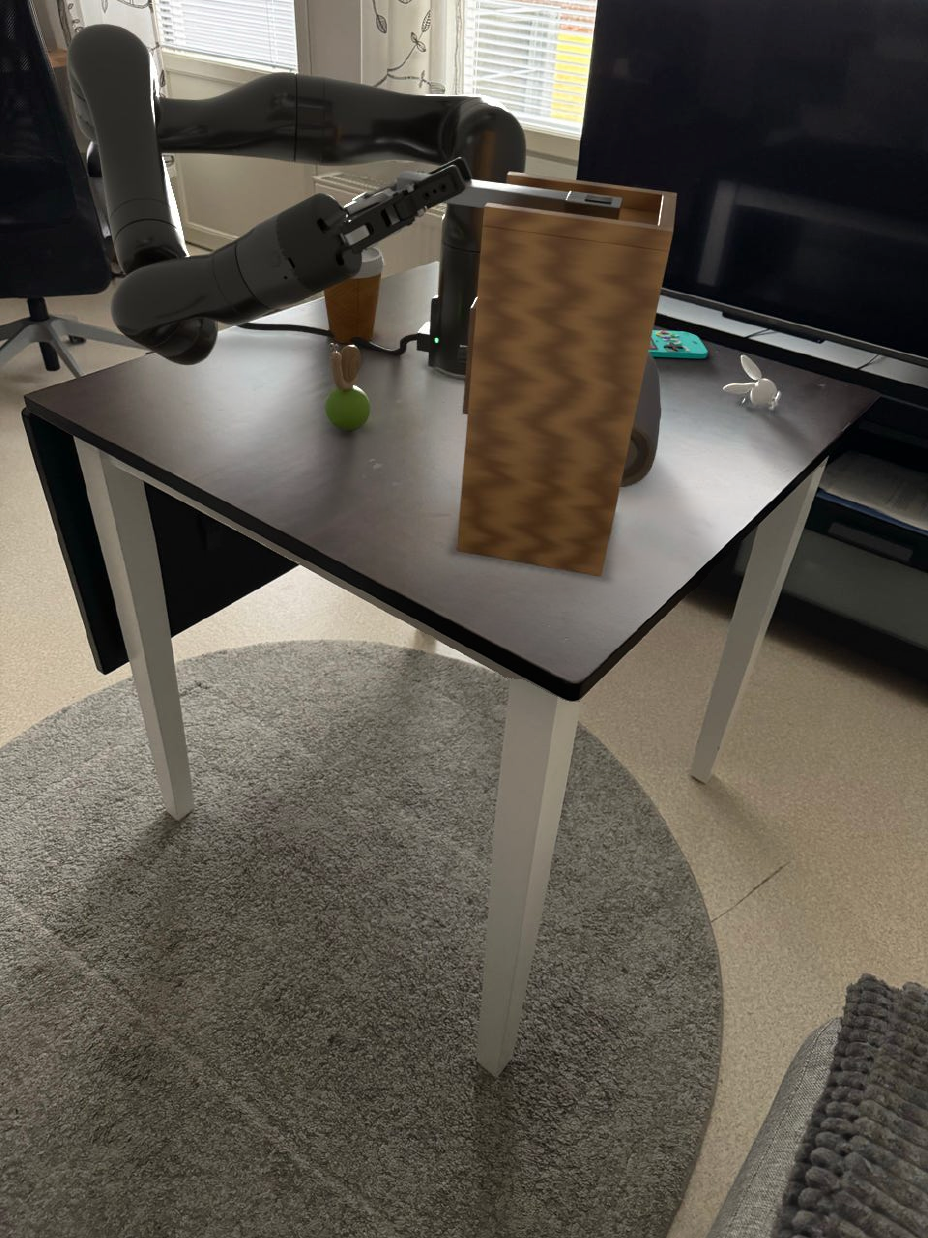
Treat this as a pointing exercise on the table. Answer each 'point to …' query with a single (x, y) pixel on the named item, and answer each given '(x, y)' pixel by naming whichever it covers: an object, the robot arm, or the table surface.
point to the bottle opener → (526, 197)
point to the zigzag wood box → (557, 371)
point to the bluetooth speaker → (644, 428)
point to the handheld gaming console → (676, 345)
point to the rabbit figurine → (755, 386)
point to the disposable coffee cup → (356, 300)
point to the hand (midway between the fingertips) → (463, 173)
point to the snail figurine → (346, 391)
